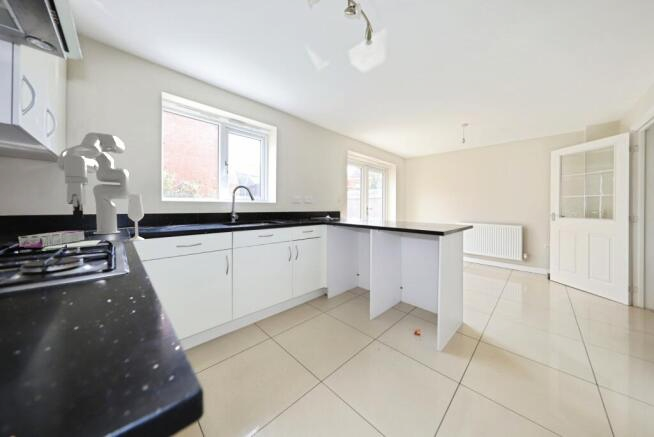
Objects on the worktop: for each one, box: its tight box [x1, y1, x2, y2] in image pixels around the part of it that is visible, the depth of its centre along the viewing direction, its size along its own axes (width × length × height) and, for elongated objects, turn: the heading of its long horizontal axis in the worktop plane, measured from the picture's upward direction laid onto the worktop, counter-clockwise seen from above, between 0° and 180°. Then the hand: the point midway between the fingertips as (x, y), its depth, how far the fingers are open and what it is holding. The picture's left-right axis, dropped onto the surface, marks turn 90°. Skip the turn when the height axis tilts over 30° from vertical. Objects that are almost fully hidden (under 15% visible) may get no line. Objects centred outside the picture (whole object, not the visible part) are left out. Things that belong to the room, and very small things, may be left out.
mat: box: [42, 239, 101, 250], centre depth 107 cm, size 18×15×1 cm
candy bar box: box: [17, 230, 86, 248], centre depth 106 cm, size 11×5×16 cm
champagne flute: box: [127, 193, 145, 242], centre depth 123 cm, size 7×7×24 cm
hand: (78, 218), depth 114 cm, fingers closed
